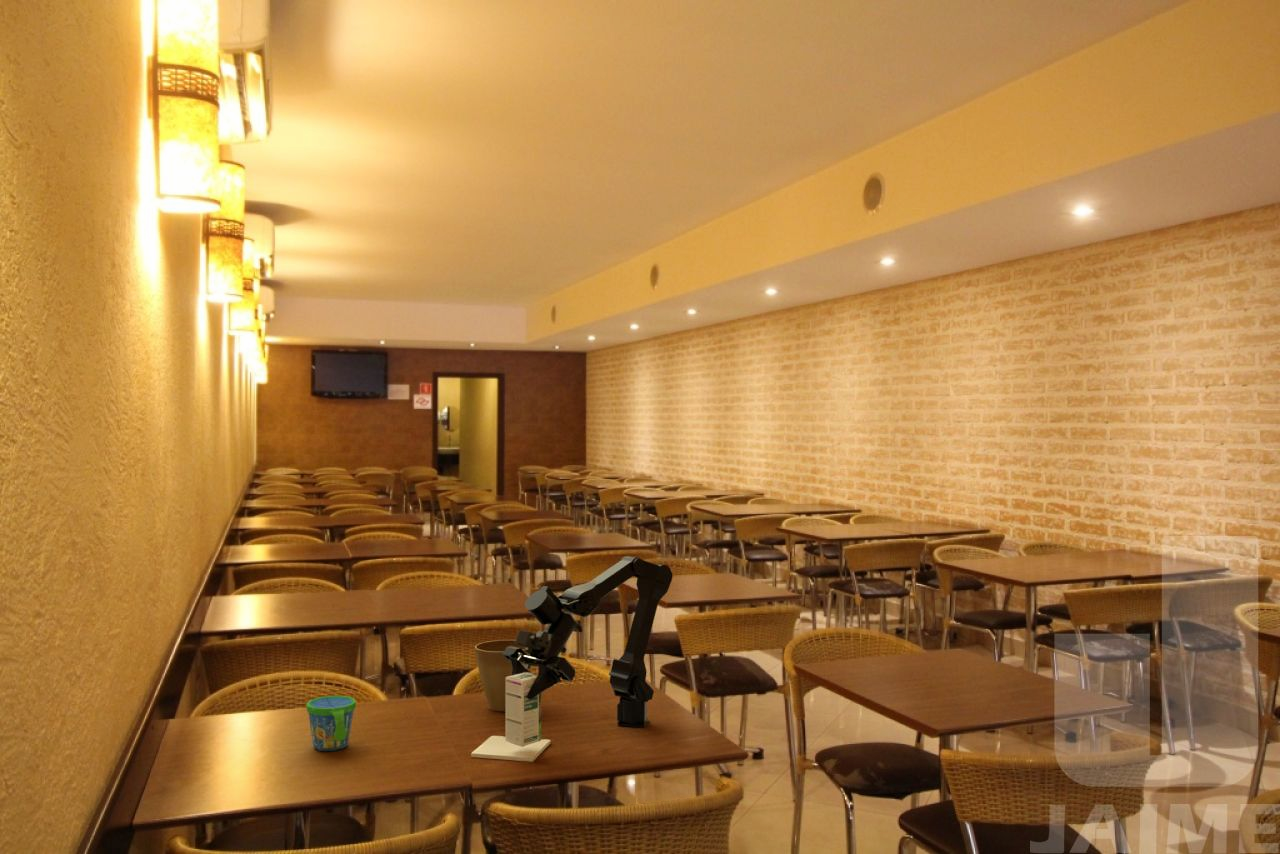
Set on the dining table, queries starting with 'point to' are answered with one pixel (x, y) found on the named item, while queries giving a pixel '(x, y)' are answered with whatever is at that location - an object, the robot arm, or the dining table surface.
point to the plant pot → (495, 670)
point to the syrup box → (522, 710)
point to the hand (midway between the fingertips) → (518, 696)
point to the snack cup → (331, 721)
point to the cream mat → (509, 749)
